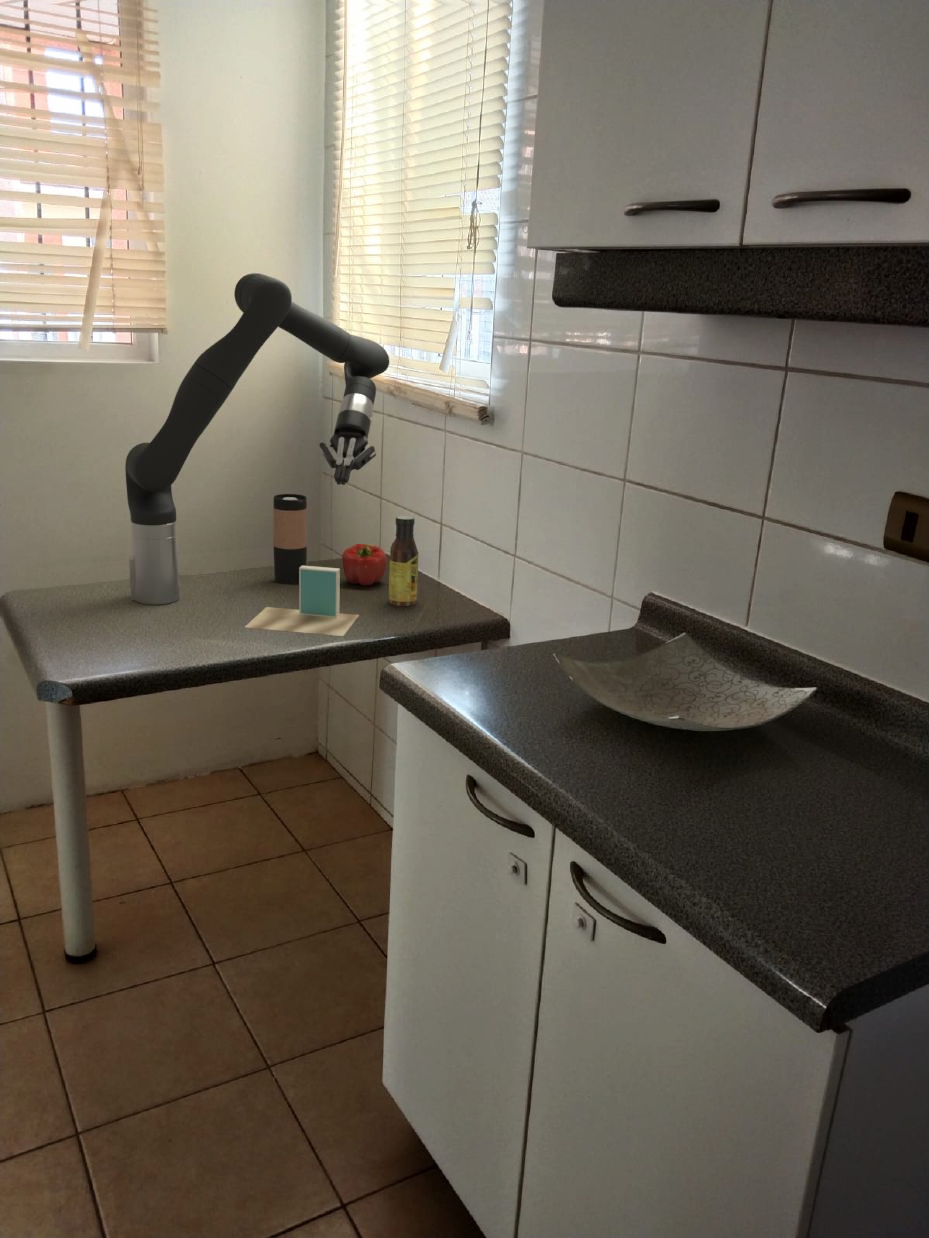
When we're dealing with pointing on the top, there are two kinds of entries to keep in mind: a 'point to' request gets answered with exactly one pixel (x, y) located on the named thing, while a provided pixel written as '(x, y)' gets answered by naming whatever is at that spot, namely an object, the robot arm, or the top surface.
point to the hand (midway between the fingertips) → (340, 482)
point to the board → (301, 622)
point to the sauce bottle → (403, 564)
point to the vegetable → (364, 564)
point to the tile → (319, 591)
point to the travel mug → (289, 537)
